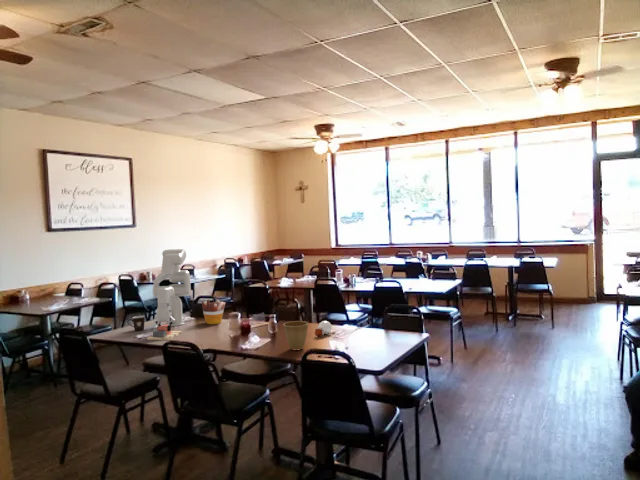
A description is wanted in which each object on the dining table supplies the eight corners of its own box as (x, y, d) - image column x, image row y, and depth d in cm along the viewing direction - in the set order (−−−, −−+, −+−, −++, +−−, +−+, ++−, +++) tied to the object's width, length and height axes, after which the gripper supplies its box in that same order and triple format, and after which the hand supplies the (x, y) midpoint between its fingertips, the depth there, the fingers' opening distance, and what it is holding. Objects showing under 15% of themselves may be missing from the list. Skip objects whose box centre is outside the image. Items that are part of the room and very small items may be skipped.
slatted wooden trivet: (162, 332, 360) (162, 330, 360) (182, 333, 357) (182, 331, 357) (146, 339, 341) (146, 337, 340) (168, 340, 337) (168, 337, 337)
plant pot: (289, 345, 312) (288, 320, 312) (311, 346, 308) (311, 321, 307) (280, 352, 298) (279, 325, 297) (304, 353, 294) (303, 326, 293)
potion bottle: (330, 334, 345) (321, 342, 332) (319, 326, 348) (309, 333, 334) (336, 324, 342) (327, 332, 328) (325, 316, 344) (316, 323, 331)
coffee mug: (147, 328, 375) (146, 315, 374) (142, 331, 366) (141, 318, 366) (132, 329, 376) (132, 315, 376) (127, 331, 367) (126, 318, 367)
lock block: (163, 332, 353) (163, 324, 352) (171, 333, 351) (171, 324, 351) (157, 335, 345) (157, 326, 345) (165, 335, 344) (165, 327, 343)
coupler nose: (156, 335, 344) (155, 330, 344) (166, 335, 343) (166, 330, 343) (152, 337, 341) (152, 331, 340) (163, 337, 339) (163, 331, 339)
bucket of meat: (210, 320, 401) (209, 295, 400) (228, 320, 396) (227, 296, 396) (197, 325, 381) (196, 299, 381) (217, 326, 377) (216, 300, 376)
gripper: (177, 304, 349) (178, 329, 350) (155, 304, 353) (156, 329, 354) (172, 306, 342) (173, 332, 342) (149, 306, 345) (150, 331, 346)
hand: (164, 330), depth 348 cm, fingers open, 6 cm apart
